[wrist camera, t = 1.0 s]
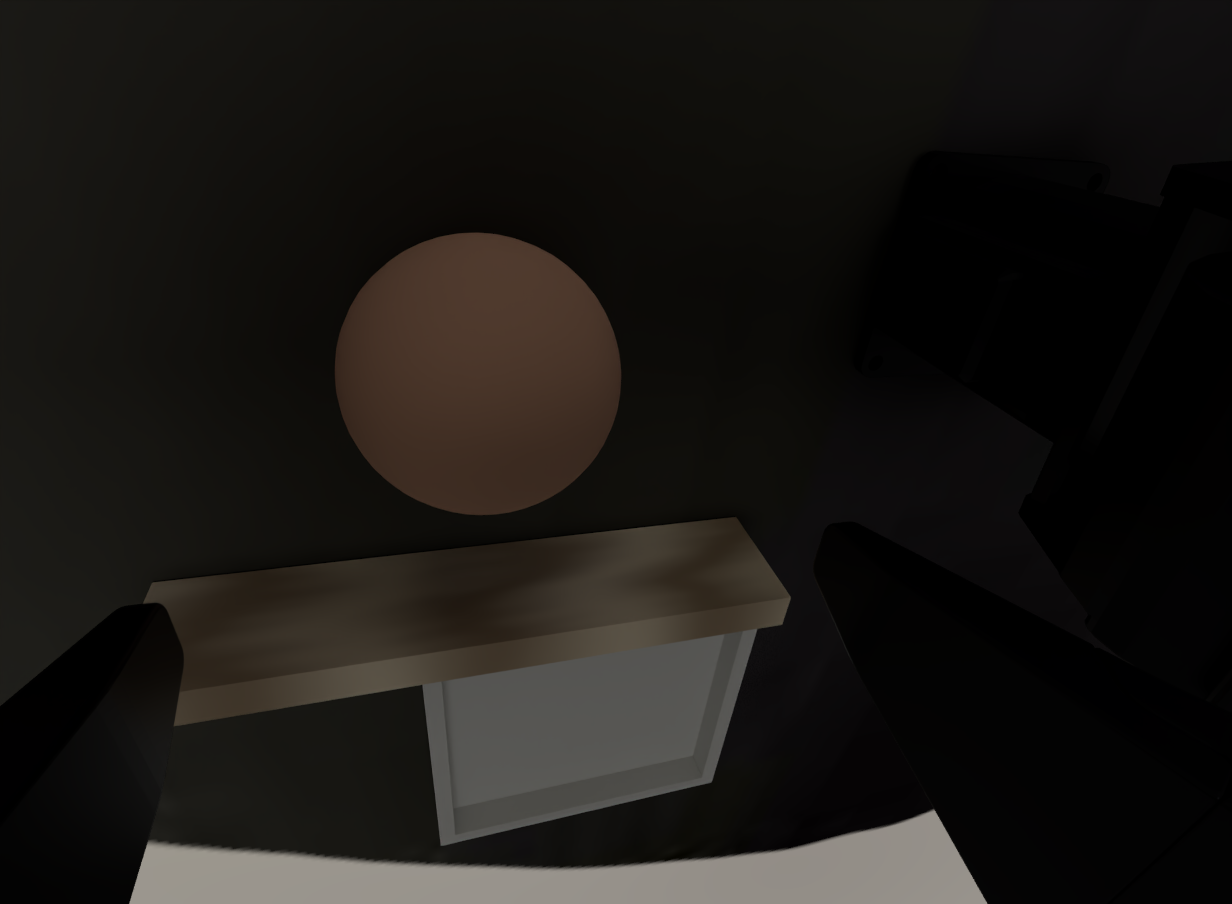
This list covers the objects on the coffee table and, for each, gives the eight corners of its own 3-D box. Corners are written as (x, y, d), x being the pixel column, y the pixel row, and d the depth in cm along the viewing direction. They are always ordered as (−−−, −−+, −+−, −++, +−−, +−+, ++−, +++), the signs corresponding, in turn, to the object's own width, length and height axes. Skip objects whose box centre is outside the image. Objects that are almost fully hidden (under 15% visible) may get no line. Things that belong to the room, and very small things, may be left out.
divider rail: (736, 516, 23) (790, 597, 20) (729, 542, 23) (782, 624, 20) (152, 582, 18) (97, 704, 15) (164, 612, 18) (114, 735, 15)
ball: (593, 207, 16) (679, 288, 11) (579, 419, 19) (640, 555, 14) (327, 197, 14) (289, 289, 9) (361, 433, 17) (346, 593, 12)
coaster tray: (749, 565, 24) (767, 593, 23) (699, 752, 31) (711, 782, 30) (417, 610, 21) (417, 646, 20) (439, 810, 28) (441, 845, 26)
